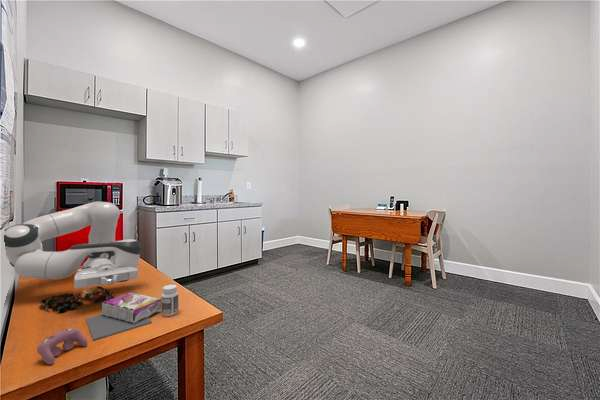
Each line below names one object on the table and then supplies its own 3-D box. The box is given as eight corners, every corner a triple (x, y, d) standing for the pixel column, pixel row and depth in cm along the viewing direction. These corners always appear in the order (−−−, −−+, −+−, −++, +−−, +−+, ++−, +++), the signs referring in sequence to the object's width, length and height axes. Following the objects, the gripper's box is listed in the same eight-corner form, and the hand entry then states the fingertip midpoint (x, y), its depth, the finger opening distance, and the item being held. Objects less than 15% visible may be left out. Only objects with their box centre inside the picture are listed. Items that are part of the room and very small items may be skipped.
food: (51, 319, 93) (51, 309, 93) (35, 306, 103) (35, 297, 103) (120, 298, 112) (120, 289, 112) (101, 289, 122) (101, 282, 122)
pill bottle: (173, 308, 102) (173, 283, 102) (181, 312, 99) (181, 286, 98) (158, 313, 98) (158, 287, 97) (165, 318, 94) (165, 290, 94)
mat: (85, 319, 92) (85, 318, 92) (138, 306, 103) (138, 305, 103) (93, 340, 79) (93, 339, 79) (151, 322, 91) (151, 321, 91)
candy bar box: (130, 291, 105) (161, 298, 99) (130, 303, 105) (161, 311, 99) (100, 301, 94) (134, 309, 89) (100, 315, 94) (133, 324, 89)
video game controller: (80, 348, 78) (72, 326, 79) (90, 343, 77) (82, 321, 78) (39, 369, 69) (31, 344, 69) (50, 365, 68) (41, 339, 68)
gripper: (133, 275, 115) (142, 284, 105) (72, 286, 101) (75, 297, 91) (134, 261, 115) (143, 268, 105) (72, 270, 100) (75, 279, 91)
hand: (111, 282), depth 98 cm, fingers closed
